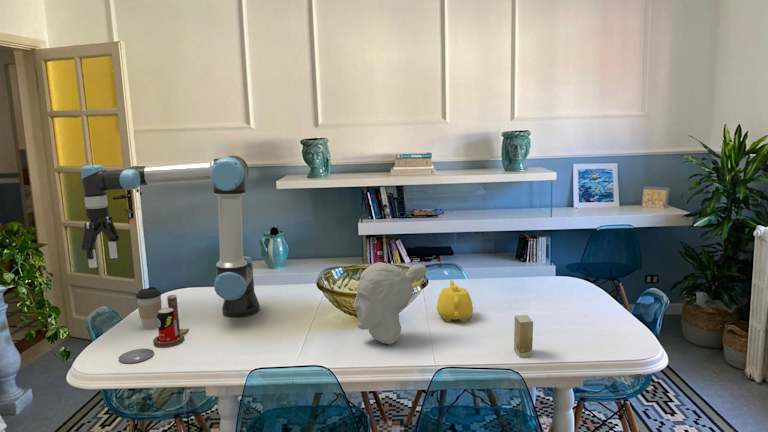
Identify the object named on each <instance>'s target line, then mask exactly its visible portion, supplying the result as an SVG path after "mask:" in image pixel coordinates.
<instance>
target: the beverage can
mask: <svg viewBox="0 0 768 432" xmlns="http://www.w3.org/2000/svg"><path fill="white" fill-rule="evenodd" d="M157 322H158V328H157V329H158V330H157V331H158V336H159V342H170V341H174V340H177V339H179V338H178V332H177V322H176V313H175V312H174V310H173V308H168V307H165V308H161V310H159V311H158V315H157Z"/></svg>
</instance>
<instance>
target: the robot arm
mask: <svg viewBox="0 0 768 432" xmlns="http://www.w3.org/2000/svg"><path fill="white" fill-rule="evenodd" d="M249 171H250V169H249V165H248V163H247V162H246V160H245V159H243V158H242V157H240V156H238V155H228V156H226V157H225V156H224V157H218V158H213V159H212V160H211V161H200V162H197V161H196V162H184V163H169V164H154V165H131V166H130V167H125V168H121V169H104V166H103V165H102V164H92V165H84V166H81V168H80V172H81V173H80V175H81V177H80V179H81V182H82V184H81V185H82V190H83V191H82V193H83V199H84V206H85V214H86V216H85V217H86V219H89V222H85V223H84V232H83V239H82V244H81V250H82V251H86V256H87V262H88V268H90V269H91V268H98V263H97V254H96V249H94V248H95V245H96V242H97V239H98V235H100V233H103V234H104V235H105V237H106V238H107V239H108V242H107V243H108V245H107V246H108V251H109V259H118V258H119V256H118V250H117V249H118V248H117V242H118V241H120V240H119V239H120V235H119V233H118V231H117V228H116V226H115V224H114V222H113V216H110V212H109V207H108V205H109V203H108V195H107V191H132V190H136V189H138V188H139V187H140V186H151V185H167V184H169V185H170V184H181V183H182V184H183V183H198V182H211V183H212V185H213V186H212V188H213V195H215V196H216V198H217V207H218V209H217V210H218V212H217V213H218V237H219V239H218V240H219V241H218V242H219V260H218V261H217V262H216V264H215V272H216V274H215V275H216V278H215V279H214V282H213V283H214V285H213V288H214V291H215V294H216V295H217V296H218V297H220V298H221V299H223V304H222V307H221V308H222V309H221V310H222V314H223V316H225V317H230V318H241V317H242V318H244V317H248V316H252V315H254V314H256V313H259V312H260V310H261V305H260V302H259V299H258V297H257V295H256V293H255V282H254V280H255V279H254V266H253V265H254V263H253V260H252V257H251V256H248V255H247V256H244V247H243V246H244V242H243V239H244V238H243V207H242V204H243V203H242V202H243V199H242V197H244V195H246V180H247V178H248V176H249Z"/></svg>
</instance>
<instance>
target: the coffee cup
mask: <svg viewBox="0 0 768 432" xmlns="http://www.w3.org/2000/svg"><path fill="white" fill-rule="evenodd" d="M161 295H162V292H161V290H158V288H157V287H155V286H150V287H148V288H146V287H145V288H143V289H140V290H138V292H136V294H135V298H136V301H137V308H138V315H139V319H140V322H141V327H142V329H143V330H148V331H149V330H150V331H151V330H155V329H156V330H157V329H158V322H157V315H158V311H159V310H161V309H162V296H161Z"/></svg>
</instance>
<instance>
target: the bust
mask: <svg viewBox="0 0 768 432" xmlns="http://www.w3.org/2000/svg"><path fill="white" fill-rule="evenodd" d="M426 274H427V267H426V266H425V265H423V264H419V263H416V264H413V265H411V266H410V267H409V268H408V270H407V271H406V272H405V271H404V270H403V269H401V268H400V267H398V266H396V265H395V264H391V263H386V262H383V261H381V262H378V261H377V262H375V263H373V264H371V265H369V266H367V267H366V268H365V269H364V270H363V271H362V272H361V274H360V278H359V280H358V283H357V288H356V295H355V300H354V302H353V304H352V306H353V308H354V309H355V310H356V315H357V319H358V321H357V328H358V329H360V330H368V333H369V335H371V337H372V339H373V340H376V341H378V342H380V343H381V344H384V345H385V344H386V345H392V344H394V343H395V342H397V340H398V339H399V338H400V335H401V332H402V325H401V323H400V311H401V309H402V308H404V307H405V306H406V305H407V304H408V302H409V301H410V300H411V298H412V296H413V293H414V287H413V283H412V282H414V281H419V280H422V279H423V278H425V276H426Z"/></svg>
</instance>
